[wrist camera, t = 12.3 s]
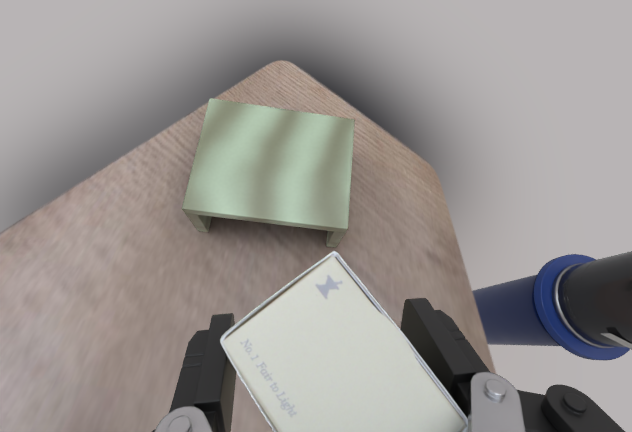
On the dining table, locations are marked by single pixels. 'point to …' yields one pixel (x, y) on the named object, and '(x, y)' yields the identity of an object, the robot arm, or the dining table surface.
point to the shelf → (272, 168)
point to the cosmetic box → (336, 361)
